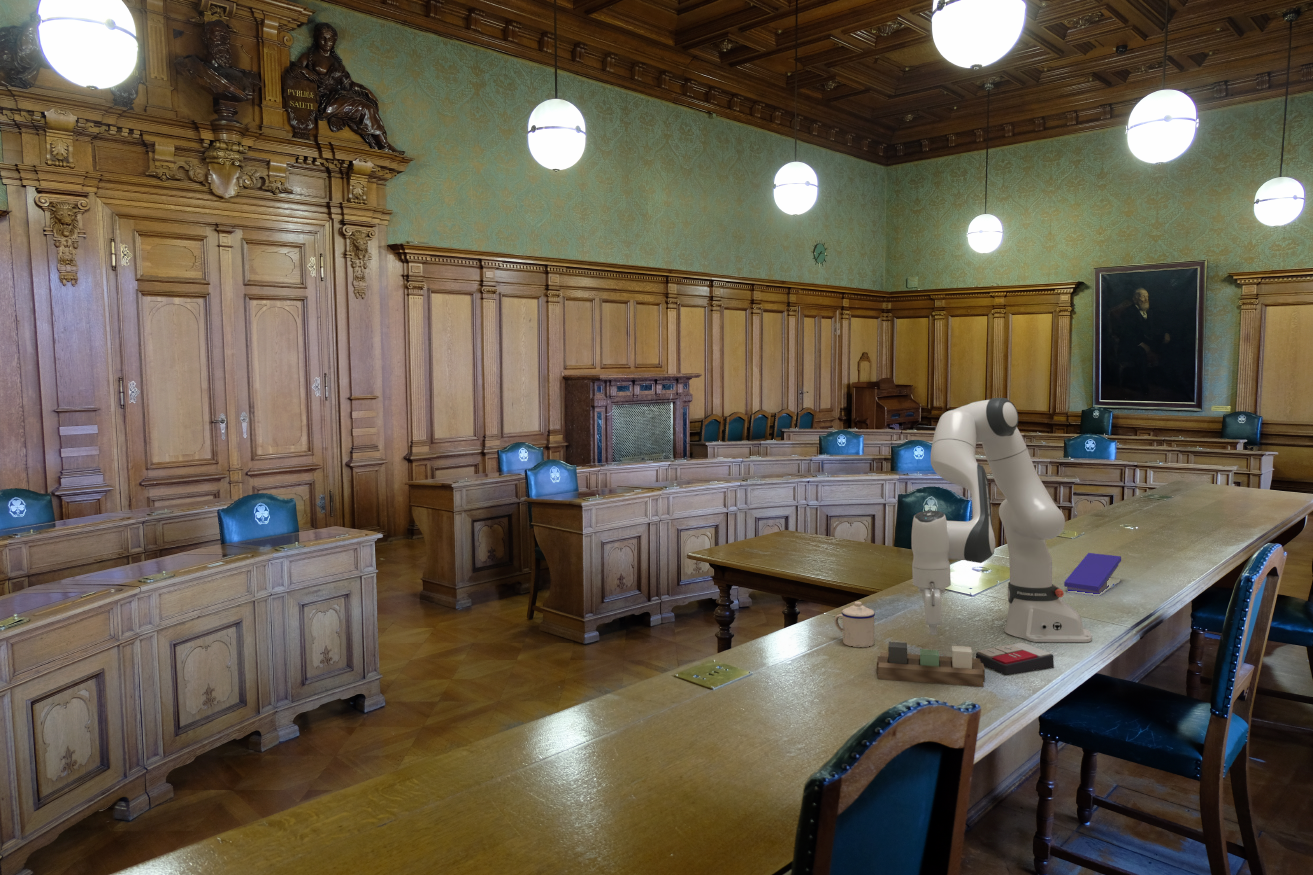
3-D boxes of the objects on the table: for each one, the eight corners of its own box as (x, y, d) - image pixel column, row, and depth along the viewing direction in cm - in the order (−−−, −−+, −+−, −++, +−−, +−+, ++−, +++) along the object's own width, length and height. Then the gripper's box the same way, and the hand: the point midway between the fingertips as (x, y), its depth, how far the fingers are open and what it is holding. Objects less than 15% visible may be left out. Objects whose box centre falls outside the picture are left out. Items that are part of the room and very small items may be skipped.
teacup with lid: (881, 642, 230) (880, 601, 230) (865, 650, 224) (864, 607, 223) (843, 634, 238) (842, 595, 238) (826, 642, 232) (826, 601, 231)
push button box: (974, 649, 211) (1021, 639, 216) (975, 666, 211) (1022, 655, 216) (1005, 662, 201) (1054, 651, 205) (1006, 679, 201) (1054, 668, 206)
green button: (938, 669, 204) (938, 650, 204) (939, 675, 200) (939, 655, 200) (920, 668, 206) (920, 648, 205) (920, 674, 201) (920, 654, 201)
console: (982, 670, 205) (982, 658, 205) (985, 686, 193) (985, 674, 193) (878, 663, 212) (878, 651, 212) (876, 678, 201) (876, 666, 201)
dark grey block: (907, 662, 207) (907, 642, 206) (907, 667, 202) (906, 647, 202) (889, 660, 208) (889, 641, 208) (888, 666, 204) (888, 646, 203)
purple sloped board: (1122, 582, 294) (1122, 555, 293) (1100, 597, 273) (1100, 568, 273) (1087, 578, 302) (1087, 551, 301) (1063, 592, 281) (1063, 564, 281)
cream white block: (971, 666, 202) (970, 646, 202) (972, 672, 198) (971, 652, 198) (952, 665, 203) (951, 645, 203) (952, 671, 199) (952, 650, 199)
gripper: (947, 588, 190) (949, 646, 191) (943, 569, 210) (944, 622, 211) (918, 587, 192) (920, 645, 193) (917, 568, 212) (919, 621, 213)
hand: (933, 633), depth 202 cm, fingers closed
